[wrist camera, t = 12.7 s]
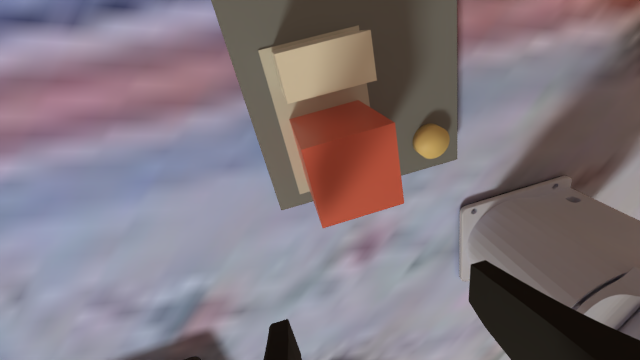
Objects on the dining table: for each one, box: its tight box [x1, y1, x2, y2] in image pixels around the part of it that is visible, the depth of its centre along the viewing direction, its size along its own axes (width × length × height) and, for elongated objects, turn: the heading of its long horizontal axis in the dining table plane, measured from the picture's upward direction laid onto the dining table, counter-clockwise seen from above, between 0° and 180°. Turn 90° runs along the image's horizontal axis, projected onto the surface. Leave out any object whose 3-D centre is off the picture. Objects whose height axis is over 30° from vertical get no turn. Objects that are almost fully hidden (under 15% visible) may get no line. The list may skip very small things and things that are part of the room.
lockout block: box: [289, 100, 404, 228], centre depth 15 cm, size 4×4×5 cm
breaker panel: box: [211, 0, 457, 210], centre depth 17 cm, size 12×12×2 cm
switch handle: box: [271, 30, 377, 104], centre depth 14 cm, size 4×2×3 cm, turn 102°
